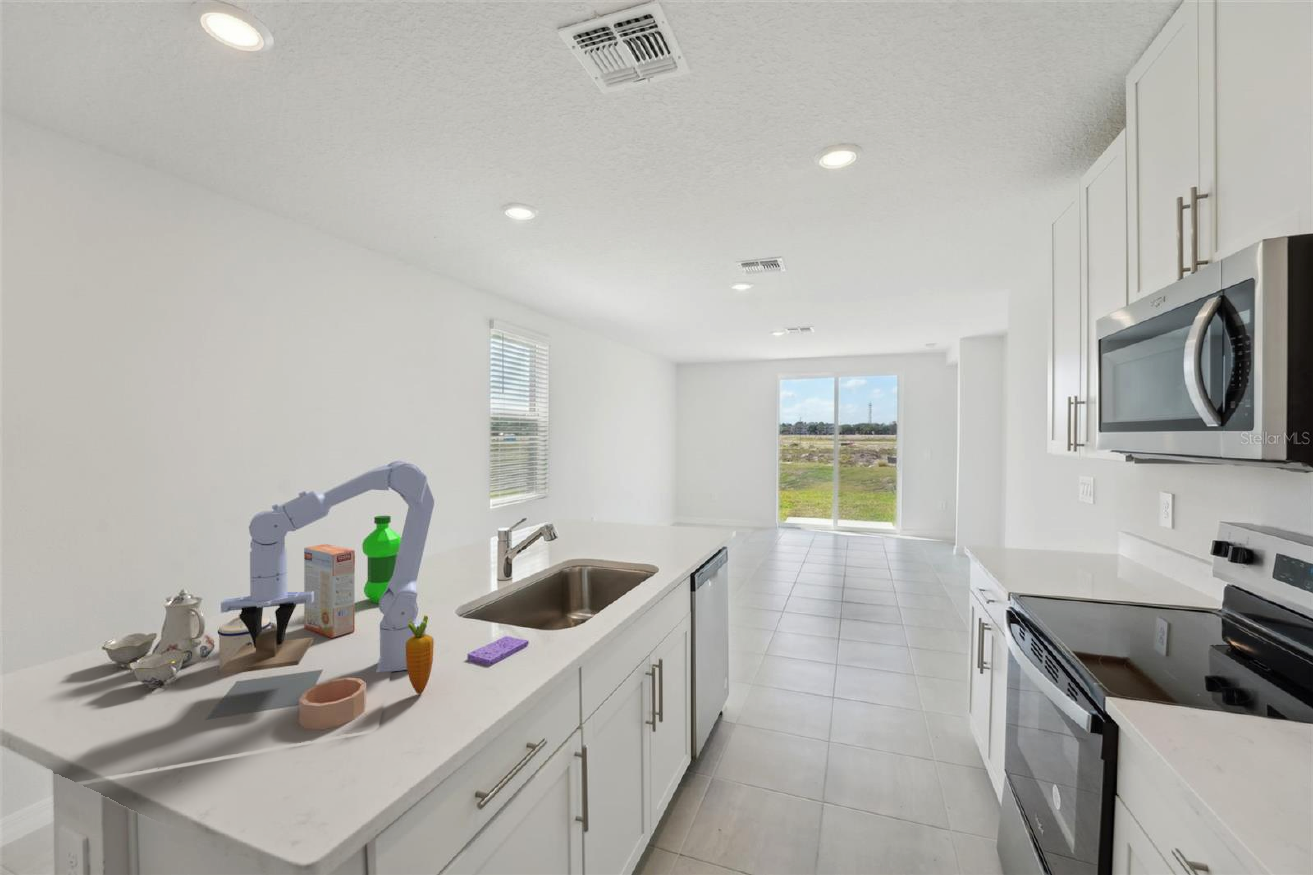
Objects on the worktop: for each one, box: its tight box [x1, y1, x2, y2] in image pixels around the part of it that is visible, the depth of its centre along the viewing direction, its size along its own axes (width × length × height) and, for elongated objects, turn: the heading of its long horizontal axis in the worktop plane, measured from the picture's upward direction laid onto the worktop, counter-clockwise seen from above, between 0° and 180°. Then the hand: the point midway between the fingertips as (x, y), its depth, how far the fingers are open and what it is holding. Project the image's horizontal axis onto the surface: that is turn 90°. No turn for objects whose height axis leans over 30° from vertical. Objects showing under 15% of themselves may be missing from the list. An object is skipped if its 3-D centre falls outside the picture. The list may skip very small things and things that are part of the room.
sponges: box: [467, 635, 530, 666], centre depth 124 cm, size 7×13×2 cm, turn 153°
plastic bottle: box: [361, 515, 402, 604], centre depth 160 cm, size 10×10×25 cm
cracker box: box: [303, 543, 356, 639], centre depth 136 cm, size 14×6×21 cm, turn 58°
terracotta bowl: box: [298, 677, 367, 730], centre depth 96 cm, size 10×10×4 cm
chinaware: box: [101, 588, 216, 690], centre depth 115 cm, size 28×17×17 cm, turn 63°
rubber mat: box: [205, 669, 324, 721], centre depth 104 cm, size 15×15×1 cm
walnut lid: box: [218, 627, 314, 676], centre depth 103 cm, size 12×12×5 cm
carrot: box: [406, 615, 435, 695], centre depth 104 cm, size 5×5×15 cm
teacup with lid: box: [217, 612, 277, 670], centre depth 117 cm, size 12×9×12 cm
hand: (269, 644), depth 103 cm, fingers closed on walnut lid, 3 cm apart
